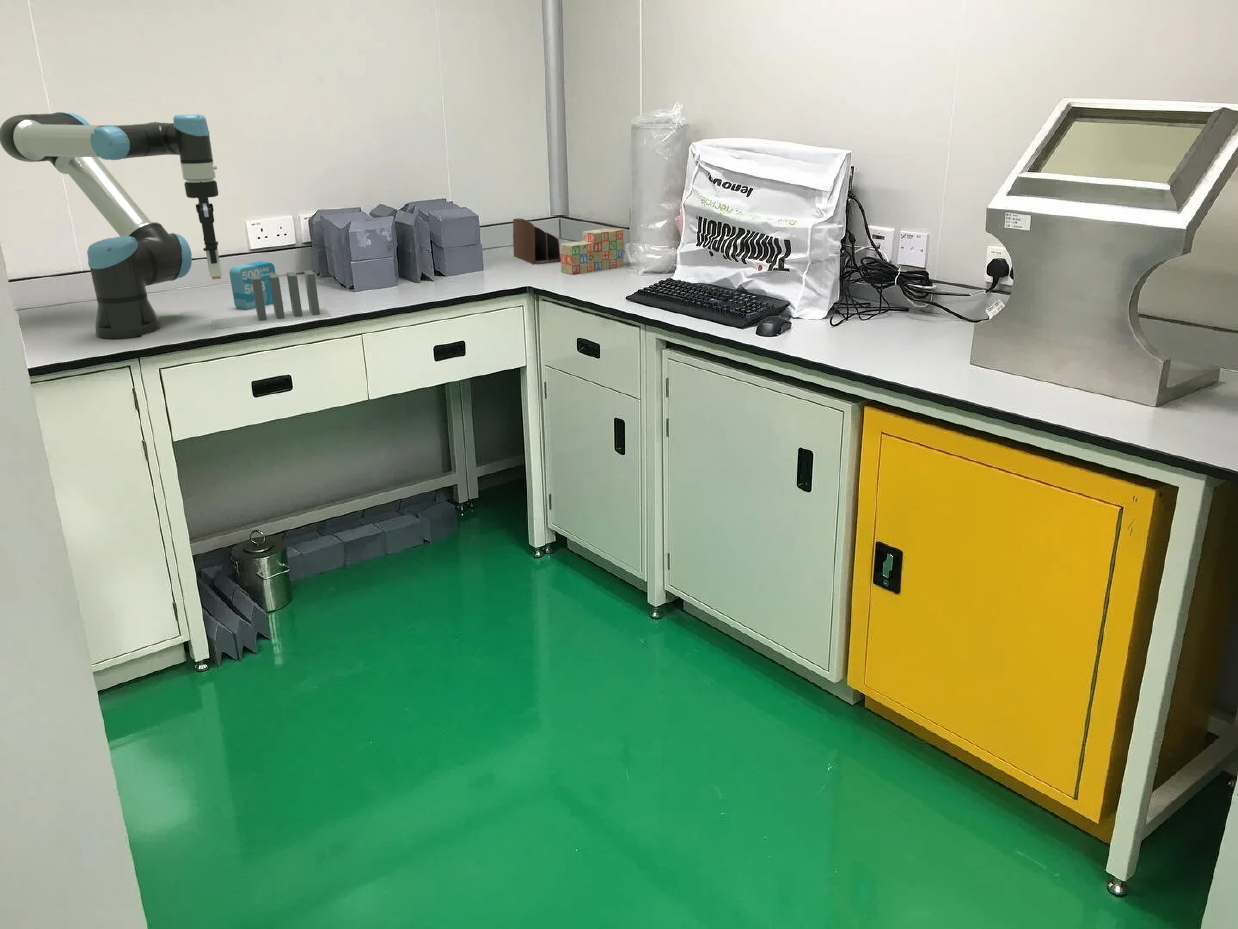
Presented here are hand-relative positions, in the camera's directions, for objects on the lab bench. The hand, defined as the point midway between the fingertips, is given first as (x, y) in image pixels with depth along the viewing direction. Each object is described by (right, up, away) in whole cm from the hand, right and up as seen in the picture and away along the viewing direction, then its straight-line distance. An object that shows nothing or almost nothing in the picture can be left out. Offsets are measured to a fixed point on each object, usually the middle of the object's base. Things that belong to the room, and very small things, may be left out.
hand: (215, 273), depth 253 cm
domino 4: (+16, -8, +15) cm, 24 cm away
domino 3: (+12, -9, +13) cm, 20 cm away
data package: (+1, -4, +28) cm, 28 cm away
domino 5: (+20, -7, +17) cm, 27 cm away
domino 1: (0, -1, 0) cm, 1 cm away
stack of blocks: (+95, +15, +71) cm, 120 cm away
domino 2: (+8, -10, +12) cm, 17 cm away
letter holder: (+75, +22, +91) cm, 120 cm away
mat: (+10, -10, +12) cm, 19 cm away
